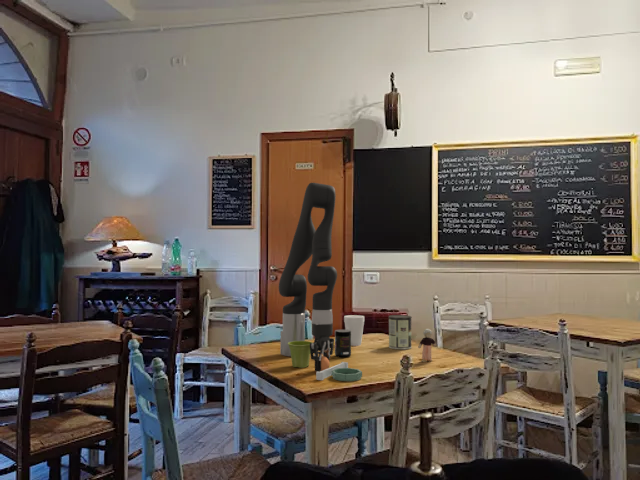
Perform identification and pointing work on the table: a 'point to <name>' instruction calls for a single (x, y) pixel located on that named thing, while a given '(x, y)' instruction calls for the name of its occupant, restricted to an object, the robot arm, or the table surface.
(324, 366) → the ball
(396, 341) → the coffee can
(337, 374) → the saucer
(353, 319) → the foam cup
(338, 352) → the supplement container
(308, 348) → the plant pot
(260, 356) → the table surface
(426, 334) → the grandmother figurine
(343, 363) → the white long bar
